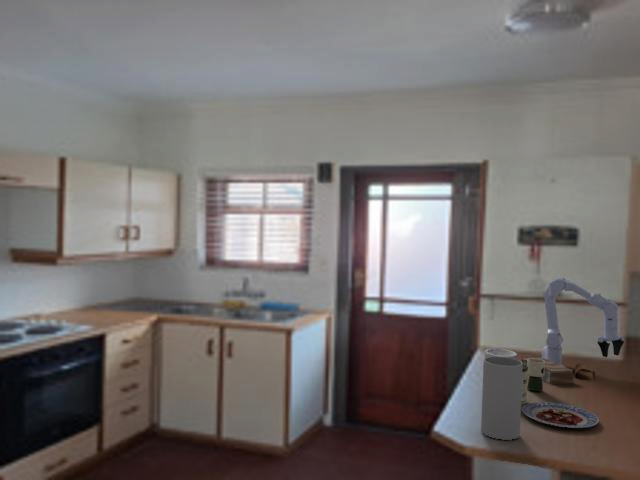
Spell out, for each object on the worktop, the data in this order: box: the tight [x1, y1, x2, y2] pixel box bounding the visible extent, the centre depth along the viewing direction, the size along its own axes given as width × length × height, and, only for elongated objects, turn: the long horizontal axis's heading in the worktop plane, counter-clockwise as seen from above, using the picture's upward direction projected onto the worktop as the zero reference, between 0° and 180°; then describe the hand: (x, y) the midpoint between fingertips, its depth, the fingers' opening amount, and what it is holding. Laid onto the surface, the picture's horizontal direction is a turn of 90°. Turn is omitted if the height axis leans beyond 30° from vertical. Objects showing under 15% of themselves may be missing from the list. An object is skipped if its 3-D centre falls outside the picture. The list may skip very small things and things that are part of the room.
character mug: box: [527, 357, 545, 392], centre depth 241 cm, size 11×7×13 cm, turn 157°
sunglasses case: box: [574, 362, 595, 381], centre depth 268 cm, size 18×7×7 cm
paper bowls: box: [483, 348, 518, 360], centre depth 276 cm, size 15×15×8 cm
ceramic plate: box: [522, 401, 600, 429], centre depth 207 cm, size 26×26×3 cm
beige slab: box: [521, 357, 574, 385], centre depth 263 cm, size 22×11×6 cm, turn 14°
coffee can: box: [521, 365, 528, 405], centre depth 227 cm, size 10×10×14 cm
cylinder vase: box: [480, 357, 523, 441], centre depth 191 cm, size 12×12×25 cm
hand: (610, 355), depth 269 cm, fingers open, 7 cm apart
